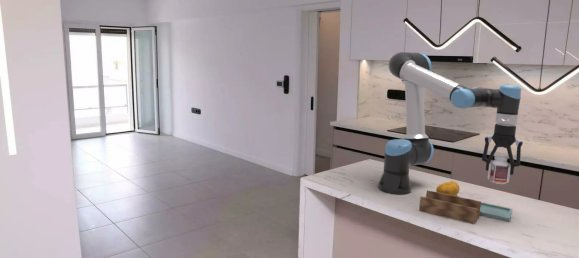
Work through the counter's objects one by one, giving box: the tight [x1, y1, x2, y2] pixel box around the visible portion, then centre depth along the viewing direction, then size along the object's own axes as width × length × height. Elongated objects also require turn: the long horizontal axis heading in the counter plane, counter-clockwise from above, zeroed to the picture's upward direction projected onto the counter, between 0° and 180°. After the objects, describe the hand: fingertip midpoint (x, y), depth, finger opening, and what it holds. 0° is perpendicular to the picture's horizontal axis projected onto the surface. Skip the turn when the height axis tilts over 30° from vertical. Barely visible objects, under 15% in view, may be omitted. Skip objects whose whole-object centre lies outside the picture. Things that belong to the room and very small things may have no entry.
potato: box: [435, 180, 460, 196], centre depth 182 cm, size 7×14×7 cm, turn 128°
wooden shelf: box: [418, 189, 482, 225], centre depth 164 cm, size 21×10×6 cm, turn 57°
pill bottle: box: [489, 154, 510, 185], centre depth 162 cm, size 6×6×11 cm
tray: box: [479, 201, 513, 222], centre depth 166 cm, size 13×13×2 cm
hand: (498, 180), depth 163 cm, fingers closed on pill bottle, 6 cm apart
